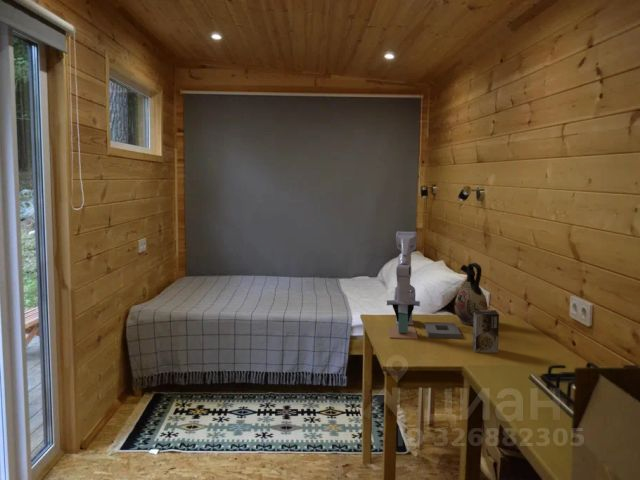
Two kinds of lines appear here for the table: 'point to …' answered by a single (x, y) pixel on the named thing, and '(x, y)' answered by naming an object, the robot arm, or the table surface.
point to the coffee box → (485, 331)
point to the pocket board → (442, 330)
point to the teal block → (402, 322)
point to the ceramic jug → (470, 295)
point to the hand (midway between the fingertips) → (402, 321)
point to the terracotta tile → (394, 333)
